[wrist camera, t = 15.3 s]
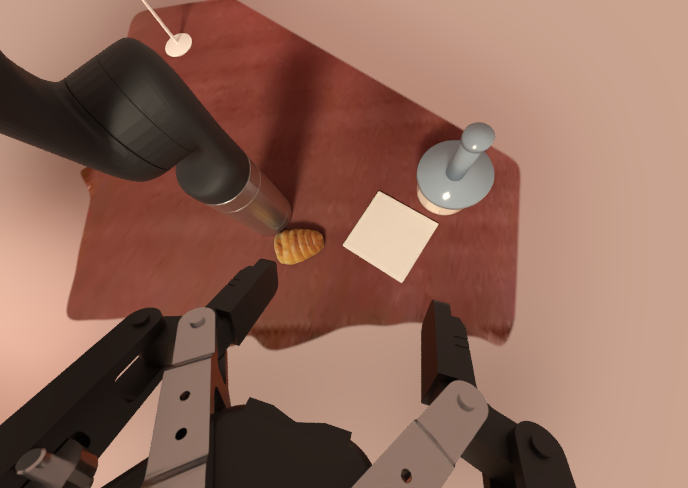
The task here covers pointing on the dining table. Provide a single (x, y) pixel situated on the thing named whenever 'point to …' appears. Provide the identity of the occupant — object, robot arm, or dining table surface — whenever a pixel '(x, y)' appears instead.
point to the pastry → (297, 245)
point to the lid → (458, 169)
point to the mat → (390, 236)
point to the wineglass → (173, 38)
